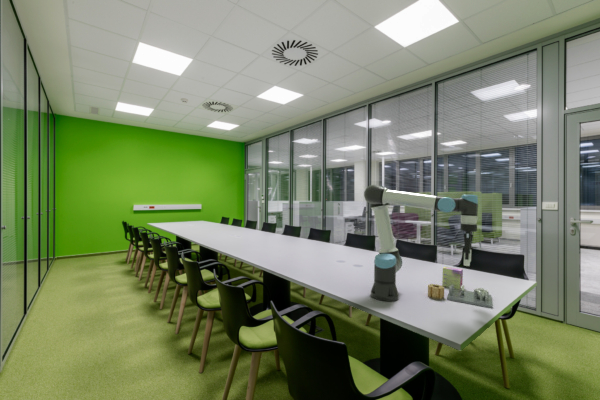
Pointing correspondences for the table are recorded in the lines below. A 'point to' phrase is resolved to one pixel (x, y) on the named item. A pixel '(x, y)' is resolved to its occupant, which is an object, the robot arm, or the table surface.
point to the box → (452, 277)
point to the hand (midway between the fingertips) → (467, 263)
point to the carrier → (470, 296)
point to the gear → (436, 291)
